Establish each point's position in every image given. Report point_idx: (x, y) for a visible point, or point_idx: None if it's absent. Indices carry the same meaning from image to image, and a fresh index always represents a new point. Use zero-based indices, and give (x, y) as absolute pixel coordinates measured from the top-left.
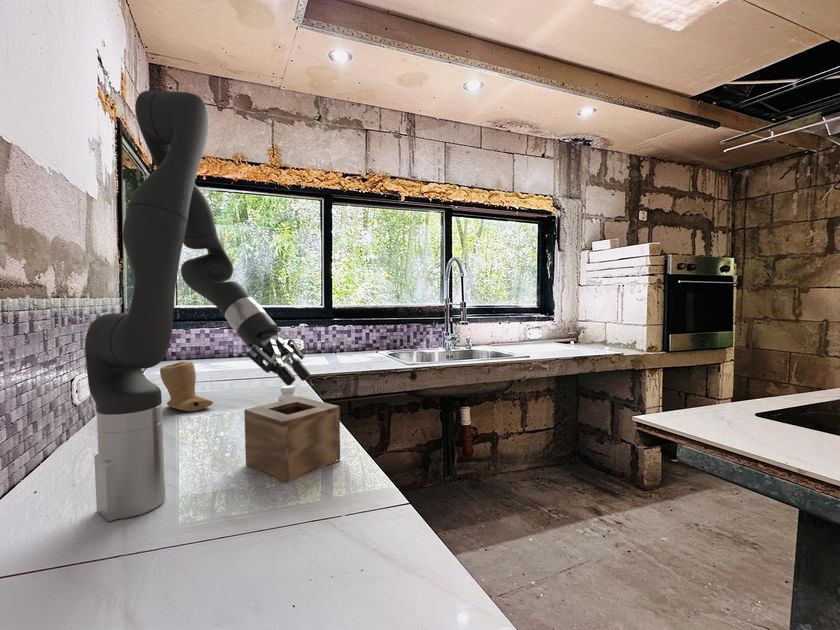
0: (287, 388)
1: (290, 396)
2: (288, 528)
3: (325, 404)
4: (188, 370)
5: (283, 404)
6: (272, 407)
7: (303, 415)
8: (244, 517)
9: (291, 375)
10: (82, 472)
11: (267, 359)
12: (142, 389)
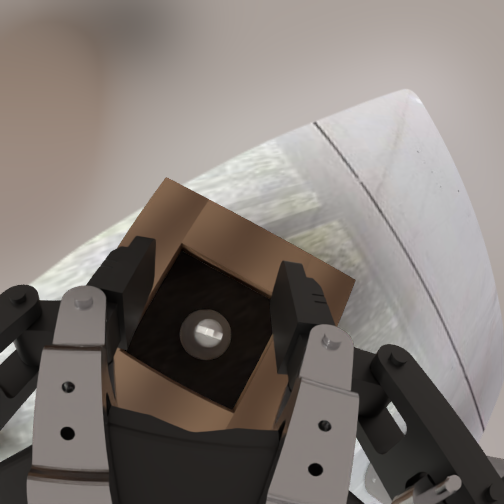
0: None
1: None
2: (401, 234)
3: (146, 227)
4: None
5: (165, 384)
6: (213, 404)
7: (287, 248)
8: (399, 303)
9: (299, 273)
10: None
11: (435, 388)
12: None
